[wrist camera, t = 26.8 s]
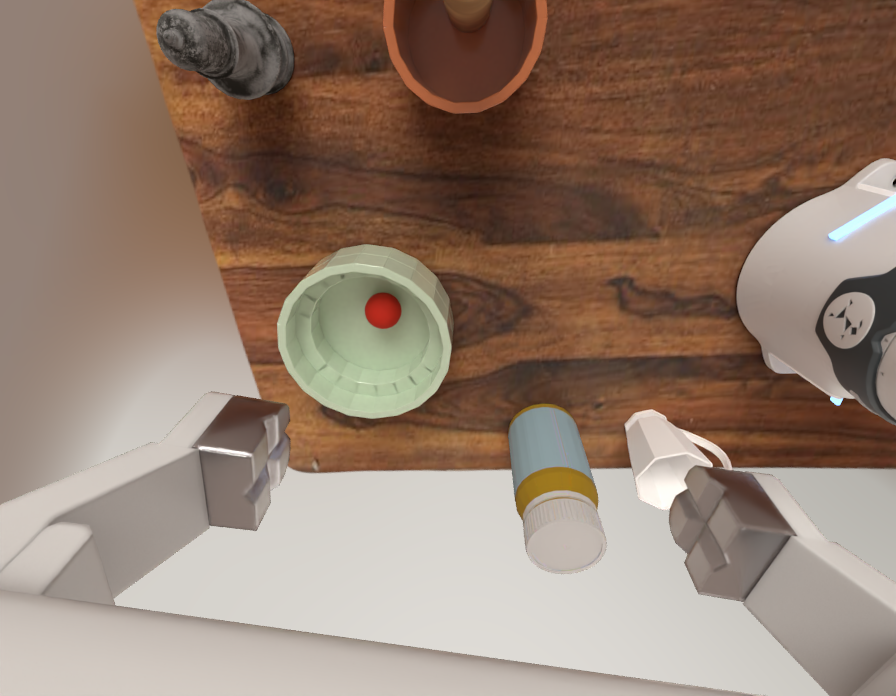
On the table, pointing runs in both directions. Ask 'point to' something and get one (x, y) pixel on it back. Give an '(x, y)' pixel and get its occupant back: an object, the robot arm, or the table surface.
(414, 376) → the bowl
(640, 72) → the table surface
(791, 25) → the table surface
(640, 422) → the cup
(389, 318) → the ball
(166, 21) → the grey chess piece
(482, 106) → the crock
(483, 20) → the stick
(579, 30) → the table surface
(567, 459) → the bottle
